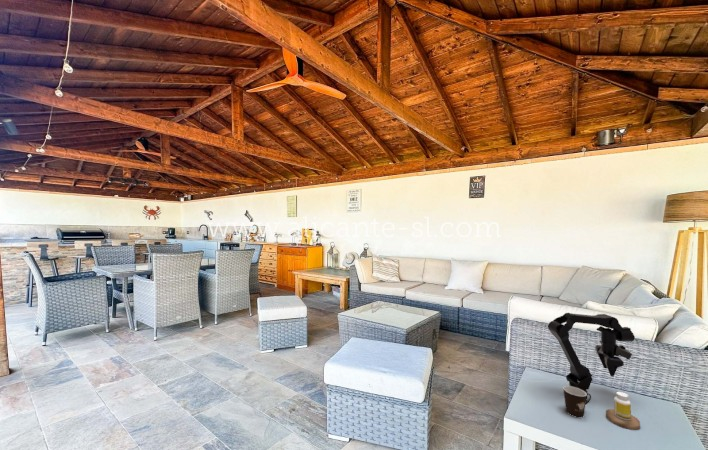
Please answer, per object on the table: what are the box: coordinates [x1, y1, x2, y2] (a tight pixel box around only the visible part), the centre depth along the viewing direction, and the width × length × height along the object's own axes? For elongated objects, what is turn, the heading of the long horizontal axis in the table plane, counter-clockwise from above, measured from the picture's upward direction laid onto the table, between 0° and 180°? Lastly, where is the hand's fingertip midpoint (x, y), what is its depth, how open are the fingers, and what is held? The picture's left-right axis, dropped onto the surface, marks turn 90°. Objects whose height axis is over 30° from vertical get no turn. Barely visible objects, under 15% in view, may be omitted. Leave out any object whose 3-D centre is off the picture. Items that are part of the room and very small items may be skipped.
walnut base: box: [605, 408, 641, 431], centre depth 128 cm, size 11×11×2 cm
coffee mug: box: [562, 385, 592, 418], centre depth 133 cm, size 12×9×10 cm
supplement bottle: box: [613, 391, 632, 420], centre depth 129 cm, size 5×5×10 cm
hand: (608, 372), depth 146 cm, fingers open, 9 cm apart
